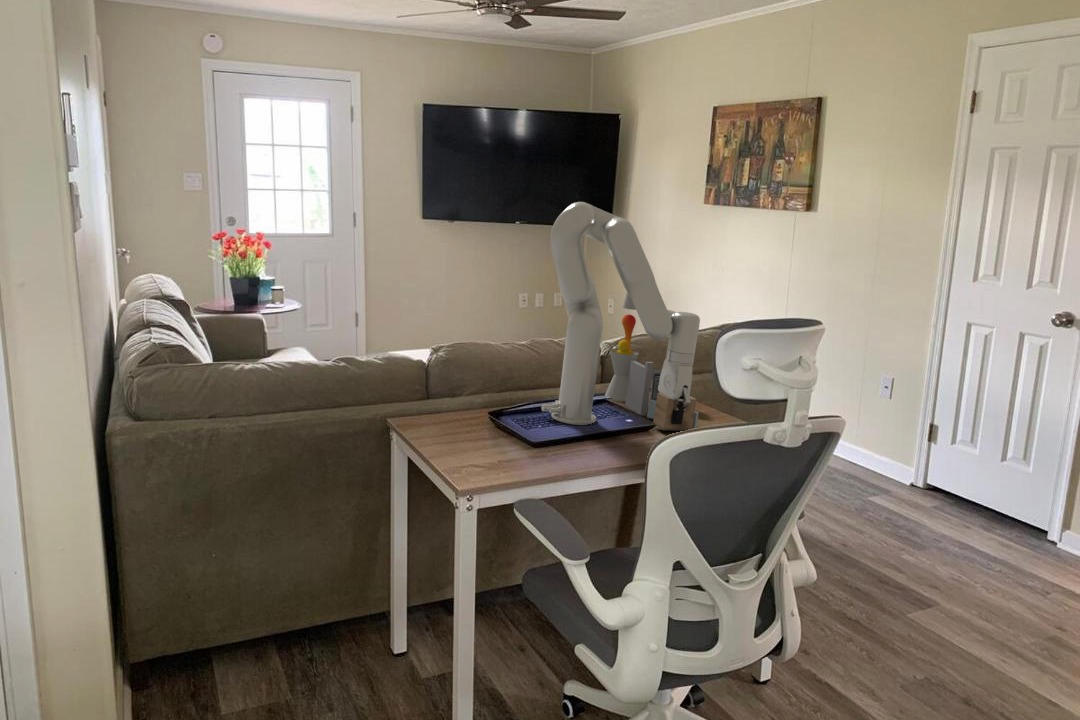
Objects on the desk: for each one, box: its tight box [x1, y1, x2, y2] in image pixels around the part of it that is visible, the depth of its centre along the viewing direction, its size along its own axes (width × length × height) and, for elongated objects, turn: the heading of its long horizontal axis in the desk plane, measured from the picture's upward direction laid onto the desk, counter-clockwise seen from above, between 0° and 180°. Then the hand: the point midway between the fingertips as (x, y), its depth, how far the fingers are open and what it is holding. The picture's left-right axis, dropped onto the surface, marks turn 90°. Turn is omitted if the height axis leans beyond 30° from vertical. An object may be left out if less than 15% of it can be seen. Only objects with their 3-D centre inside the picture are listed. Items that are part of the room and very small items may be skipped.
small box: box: [649, 369, 662, 401], centre depth 253 cm, size 11×6×10 cm, turn 84°
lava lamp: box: [604, 291, 640, 402], centre depth 253 cm, size 9×9×35 cm
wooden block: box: [652, 393, 697, 431], centre depth 226 cm, size 9×6×9 cm, turn 111°
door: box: [646, 399, 699, 429], centre depth 233 cm, size 2×15×5 cm, turn 56°
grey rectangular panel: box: [624, 360, 655, 416], centre depth 243 cm, size 2×10×16 cm, turn 21°
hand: (670, 419), depth 226 cm, fingers closed on wooden block, 6 cm apart
